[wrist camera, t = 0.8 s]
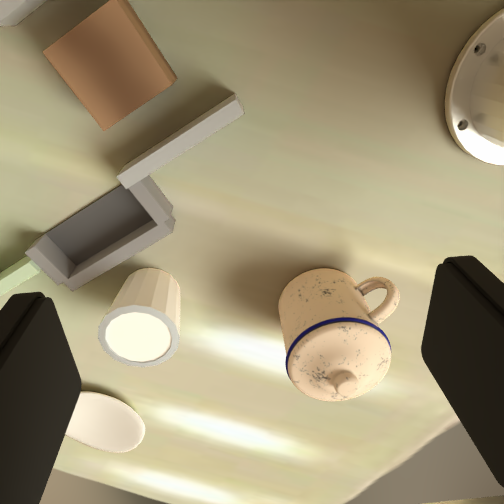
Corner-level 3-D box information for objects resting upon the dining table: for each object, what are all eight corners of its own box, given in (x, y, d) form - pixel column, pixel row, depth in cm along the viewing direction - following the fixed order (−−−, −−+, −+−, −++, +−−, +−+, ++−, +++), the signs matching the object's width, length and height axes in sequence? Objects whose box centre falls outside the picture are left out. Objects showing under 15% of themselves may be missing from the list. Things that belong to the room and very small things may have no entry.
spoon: (-136, 281, 39) (-166, 302, 36) (161, 405, 49) (157, 430, 46) (-156, 341, 42) (-186, 366, 39) (126, 446, 53) (119, 472, 50)
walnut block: (127, -1, 29) (114, -4, 26) (177, 77, 32) (171, 84, 28) (63, 48, 30) (42, 51, 27) (116, 119, 33) (103, 131, 30)
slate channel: (105, -129, 26) (86, -153, 22) (256, 128, 34) (259, 140, 30) (-190, 123, 32) (-241, 136, 28) (-3, 289, 40) (-25, 314, 36)
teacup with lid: (315, 348, 46) (339, 441, 36) (257, 304, 42) (266, 392, 32) (402, 282, 42) (458, 365, 32) (347, 227, 39) (390, 300, 28)
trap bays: (-49, -84, 26) (-74, -93, 24) (180, 217, 37) (178, 229, 35) (-172, 30, 29) (-205, 30, 27) (76, 279, 40) (67, 294, 38)
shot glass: (102, 292, 41) (80, 340, 35) (146, 248, 39) (131, 291, 32) (156, 329, 43) (145, 380, 37) (201, 290, 41) (196, 337, 35)
